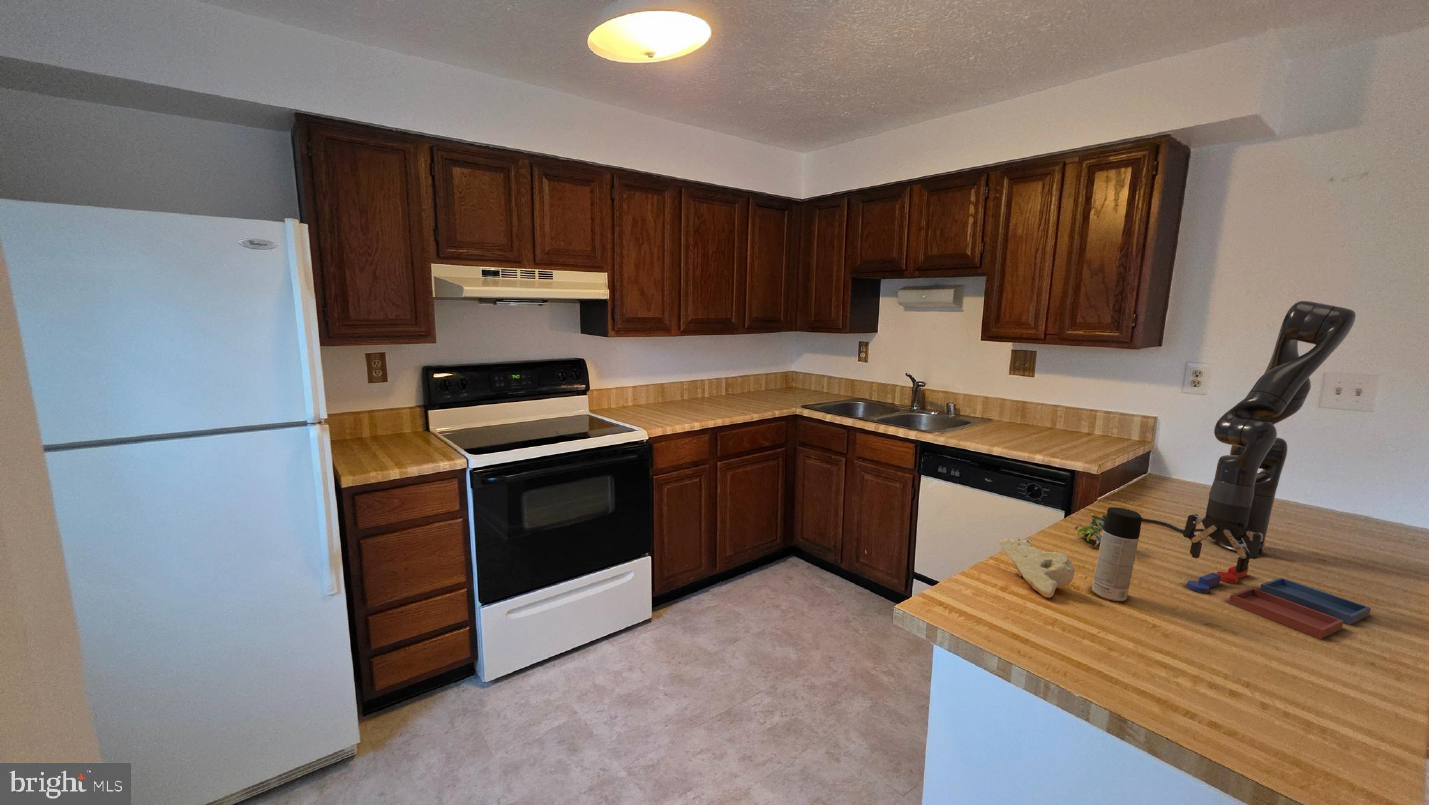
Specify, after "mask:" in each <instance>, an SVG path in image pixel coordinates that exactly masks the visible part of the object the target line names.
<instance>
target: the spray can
mask: <svg viewBox="0 0 1429 805" xmlns="http://www.w3.org/2000/svg"><path fill="white" fill-rule="evenodd" d="M1106 515H1107V516H1106V520H1105V523H1104V527H1103V530H1102V534H1101V536H1102V538H1101V543H1099V548H1098V554H1097V558H1096V564H1095V569H1094V575H1093V580H1092V586H1091V591H1092V592H1093V594H1094V595H1096V596H1098V597H1100V598H1103V599H1105V600H1109V601H1113V602H1124V601H1126V600H1127V598H1128V594H1129V589H1130V584H1131V579H1132V574H1133V569H1134V565H1135V560H1136V555H1137V550H1138V545H1139V542H1140V541H1139V540H1140V535H1141V528H1142V522H1143V521H1142V518H1143V517H1142V515H1141V514H1140V513H1139V512H1138V511H1135V510H1131V509H1129V508H1124V507H1118V506H1117V507H1116V506H1111V507H1108V508H1107V512H1106Z"/></svg>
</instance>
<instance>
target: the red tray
mask: <svg viewBox="0 0 1429 805" xmlns="http://www.w3.org/2000/svg"><path fill="white" fill-rule="evenodd" d="M1228 604H1231V605H1233V606H1236V607H1238V608H1241V609H1243V610H1246V611H1248V612H1251V613H1253V614H1256V615H1259V616H1261V617H1263V618H1266V619H1268V620H1271V621H1273V622H1276V623H1279V624H1281V625H1284V626H1286V627H1289V628H1292V629H1294V630H1297V631H1299V632H1302V633H1304V634H1307V635H1310V636H1312V637H1314V638H1317V639H1319V640H1323V639H1324V638H1327V637H1328V636H1330V635H1333V634H1335V633H1337V632H1339V631H1341V630H1342V629H1343V624H1344V621H1343V620H1340V619H1338V618H1335V617H1332V616H1329V615H1326V614H1324V613H1321V612H1318V611H1315V610H1313V609H1310V608H1307V607H1304V606H1302V605H1299V604H1296V603H1293V602H1290V601H1288V600H1285V599H1282V598H1279V597H1277V596H1274V595H1271V594H1268V593H1266V592H1263V591H1260V589H1257V588H1254V587H1249V588H1246V589H1243V590H1240V591H1238V592H1234V593H1231V594H1230V595H1229V599H1228Z"/></svg>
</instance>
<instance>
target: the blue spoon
mask: <svg viewBox="0 0 1429 805" xmlns="http://www.w3.org/2000/svg"><path fill="white" fill-rule="evenodd" d="M1220 579H1221V575H1218V574H1217V573H1215V572H1212V573H1211V572H1210V573H1208V574H1204V575H1201V576H1199V579H1198V581H1197V580H1192V579H1191V580H1187V582H1186V588H1187V589H1189V590H1191V591H1193V592H1196V593H1201V594H1208V593H1209V591H1210V588H1214V587H1217V586H1219V585H1220V583H1221V580H1220Z"/></svg>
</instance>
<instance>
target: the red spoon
mask: <svg viewBox="0 0 1429 805" xmlns="http://www.w3.org/2000/svg"><path fill="white" fill-rule="evenodd" d="M1236 566H1237V565H1235V566H1231V567H1228V568H1227V572H1225V571H1216V574H1218V575H1221V579H1220V582H1221V581H1222V582H1225V583H1228V584H1237V583H1238V581H1239V579H1241V578H1243V577H1244V578H1245V577H1247V576H1248V572H1249V566H1248V568H1247V570H1246V571H1244V572H1242V573H1237V572H1235V570H1236Z"/></svg>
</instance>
